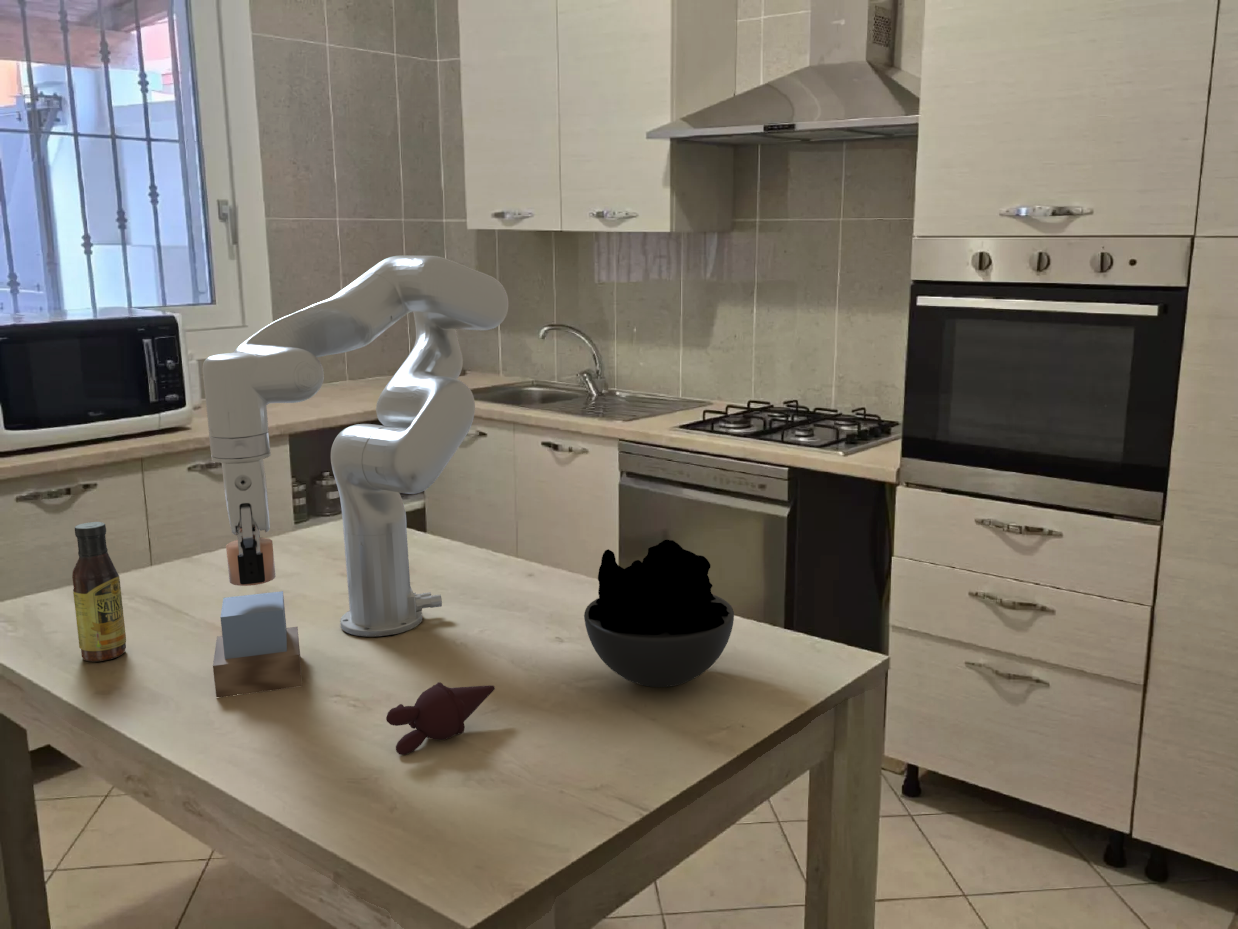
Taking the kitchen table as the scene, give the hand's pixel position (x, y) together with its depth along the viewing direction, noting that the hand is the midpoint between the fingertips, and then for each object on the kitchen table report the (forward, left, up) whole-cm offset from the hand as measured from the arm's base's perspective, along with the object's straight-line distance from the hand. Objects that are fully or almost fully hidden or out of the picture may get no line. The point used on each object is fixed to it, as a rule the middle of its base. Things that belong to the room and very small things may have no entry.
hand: (252, 574), depth 148 cm
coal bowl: (-51, +22, -15) cm, 58 cm away
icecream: (-21, +27, -15) cm, 38 cm away
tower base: (0, 0, -15) cm, 15 cm away
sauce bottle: (+22, -16, -15) cm, 31 cm away
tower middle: (0, 0, -10) cm, 10 cm away
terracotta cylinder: (0, 0, -1) cm, 1 cm away
